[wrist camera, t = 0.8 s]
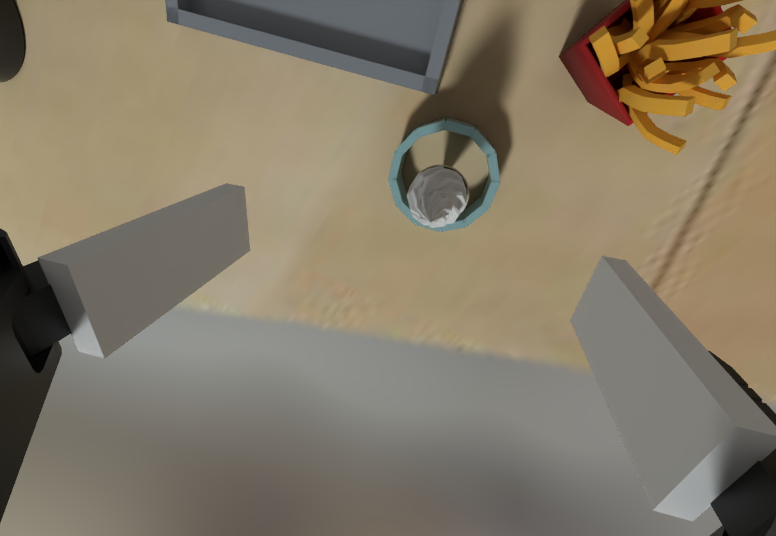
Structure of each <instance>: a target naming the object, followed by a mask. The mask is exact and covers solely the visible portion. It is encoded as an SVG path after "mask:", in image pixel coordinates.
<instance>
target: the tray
mask: <svg viewBox="0 0 776 536" xmlns="http://www.w3.org/2000/svg"><path fill="white" fill-rule="evenodd" d="M165 1H166V13H167V21H168V22H171V23H175V24H179V25H182V26H186V27H190V28H193V29H197V30H200V31H204V32H208V33H211V34H215V35H219V36H222V37H226V38H229V39H233V40H237V41H240V42H244V43H248V44H251V45H255V46H258V47H262V48H266V49H269V50H273V51H277V52H280V53H284V54H287V55H291V56H295V57H298V58H302V59H306V60H309V61H313V62H316V63H320V64H324V65H327V66H331V67H335V68H338V69H342V70H345V71H349V72H353V73H356V74H360V75H363V76H367V77H371V78H374V79H378V80H382V81H385V82H389V83H392V84H396V85H400V86H403V87H407V88H411V89H414V90H418V91H421V92H425V93H429V94H432V95H436V94H437V92H438V88H439V85H440V81H441V77H442V74H443V70H444V66H445V63H446V59H447V55H448V52H449V48H450V45H451V41H452V37H453V34H454V30H455V26H456V23H457V19H458V15H459V12H460V8H461V4H462V1H463V0H165Z"/></svg>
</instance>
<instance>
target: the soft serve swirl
mask: <svg viewBox="0 0 776 536" xmlns="http://www.w3.org/2000/svg"><path fill="white" fill-rule="evenodd" d="M407 199H408V202H409V207H410V210H411V213H412V216H413V217H414V218H415V219H416V220H418V221H419V222H420V223H422V224H423V225H428V226H430V227H431V228H435V227H443V226H446V224H452V223H454V222H455V221H456V219H457V218H458V216H459V215H460V214H461V213H462V212H463V210H464V209H465V207H466V205H467V203H468V199H469V187H468V183H467V181H466V179H465V178H464V176H463V175H462V174H461V173H460V172H459V171H458V170H456V169H455V168H453V167H450V166H447V165H433V166H430V167H427V168H426V169H424V170H422V171H421V172H419V173H418V174H417V176H416V177H415V179H414V181H413V182H412V184H411V185H410V187H409V190H408V193H407Z"/></svg>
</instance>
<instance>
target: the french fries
mask: <svg viewBox="0 0 776 536" xmlns="http://www.w3.org/2000/svg"><path fill="white" fill-rule="evenodd" d="M738 1H742V0H625V1H624V2H623V3H621V4H620V5H619V6H618V7H616V8H615V9H614V10H613V11H612V12H610V13H609V14H608V15H607V16H606V17H605V18H603V19H602V20H601V21H600V22H599V23H598V24H596V25H595V26H594V27H593V28H592V29H591V30H589V31H588V32H587V33H586V34H585V35H584V36H582V37H581V38H580V39H579V40H578V41H577V42H575V43H574V44H573V45H572V46H571V47H569V48H568V49H567V50H566V51H565V52H564V53H562V54H561V55H560V56H559V58H560V59H561V61H562V63H563V64H564V66H565V67H566V69H567V70H568V72H569V73H570V75H571V77H572V78H573V80H574V81H575V83H576V84H577V86H578V87H579V89H580V91H581V92H582V94H583V95H584V97H585V98H586V100H587V101H588V102H589V103H590V104H592V105H594V106H595V107H597V108H599V109H600V110H602V111H604V112H605V113H607V114H609V115H610V116H612V117H614V118H616V119H617V120H619V121H621V122H622V123H624V124H626V125H627V126H629V125H631V124H632V123H634V124H635V126H636V127H637V129H638V130H639V131H640V132H641V134H642V135H643V136H644V138H645V139H647V140H649V141H650V142H652V143H654V144H655V145H657V146H659V147H661V148H663V149H665V150H667V151H670V152H672V153H674V154H676V155H677V154H678V153H679V152H680V151H681V150H682V149H683V148H684V146H685V144H686V142H687V141H686V140H683V139H681V138H678V137H675V136H673V135H670V134H668V133H667V132H665V131H663V130H661V129H660V128H658V127H656V126H655V124H654V123H653V122H652V121H651V119H650V118H649V117H648V115H647V113H654V114H661V115H671V116H682V117H685V116H687V115H688V114H690V113H692V111H693V107H694V103H696V104H698V105H701V106H704V107H708V108H712V109H715V110H719V111H720V110H722V109H724V108H725V107H726V106H727V104H728V102H729V100H730V98H731V96H729V95H725V94H721V93H716V92H713V91H710V90H707V89H704V88H701V87H699V86H698V85H700V84H702V83H705V82H706V81H708V80H709V79H710V78H712V77H713V79H714V83H716V84H717V85H718V86H719V87H720V88H721V89H722V90H723V91H725V90H726V89H728V88H729V87H731V86H733V85H734V84H736V83H737V81H736V78H735V75H734V73H733V72H732V71H731V70H730V69H729V67H728V66H727V65H725V64H724V63H723V62H722V61H723V60H725V59H726V58H732V57H739V56H745V55H752V54H758V53H763V52H768V51H772V50H776V30H775V31H771V32H767V33H763V34H757V35H751V36H745V37H739V38H737V33H738V31H740V32H741V33H743V34H744V33H745V32H747V31H748V30H749V29H750V28H751V27H752V26H754V25H755V24H756V23H757V19H756V16H755V15H753V14H752V13H751V12H749V11H748V10H746V9H745V8H743V7H742V6H740V5H739V4H738V5H736V6H733V7H731V8H729V9H727V10H725V11H724V12H723V11H722V9H721V7H720V6H722V5H726V4H730V3H734V2H738ZM731 27H734V28H735V29H731ZM676 93H678V94H679V95H680V96H673V95H674V94H676Z"/></svg>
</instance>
